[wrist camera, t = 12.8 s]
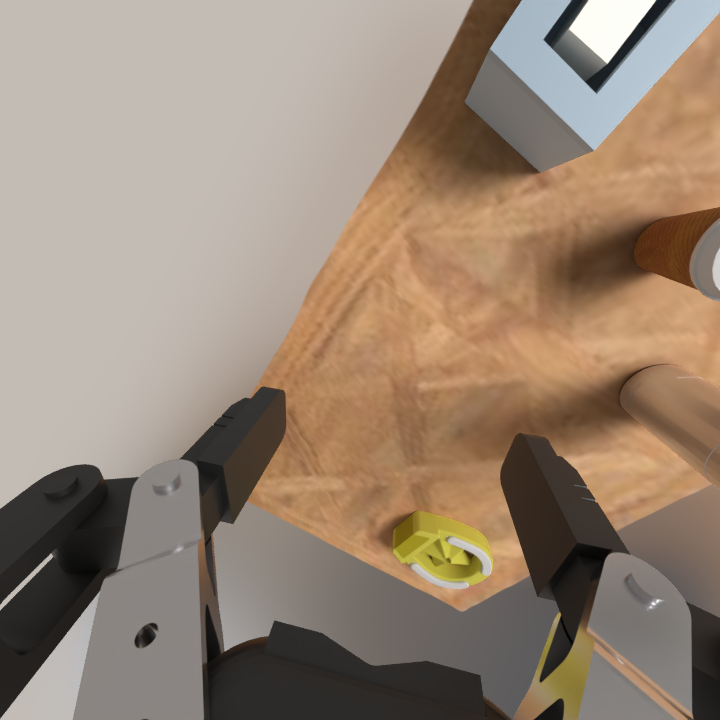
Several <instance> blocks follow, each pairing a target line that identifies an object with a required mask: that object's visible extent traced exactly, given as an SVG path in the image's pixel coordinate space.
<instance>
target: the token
mask: <svg viewBox="0 0 720 720" xmlns="http://www.w3.org/2000/svg"><path fill="white" fill-rule="evenodd" d="M655 1H656V0H582V1H581V2H580V3H579V5H578V6H577V7H576V8H575V10H574V11H573V12H572V14H571V15H570V16H569V17H568V19H567V20H566V22H565V23H564V25H563V26H562V28H561V29H560V31H559V32H558V34H557V35H556V36H555V38H554V39H553V41H552V42H551V44H550V45H549V46H550V47H551V48H552V49H553V50H554V51H555V52H556V53H557V54H558V55H559V56H560V57H561V58H562V59H563V60H564V61H565V62H566V63H567V64H568V65H569V66H570V67H571V68H572V70H573V71H574V72H575V73H576V74H577V75H578V76H579V77H580V78H581V79H582V80H583V81H584V82H586V81H587V80H588V79H589V78H591V77H592V76H593V75H594V74H595V73H597V72H598V71H599V70H600V69H602V68H603V67H604V66H605V65H607V64H608V62H609V61H610V60H611V59H612V57H613V56H614V55H615V53H616V52H617V51H618V49H619V48H620V47H621V45H622V44H623V43H624V42H625V40H626V39H627V38H628V36H629V35H630V34H631V32H632V31H633V30H634V29H635V27H636V26H637V25H638V23H639V22H640V21H641V19H642V18H643V17H644V16H645V14H646V13H647V12H648V10H649V9H650V8H651V6H652V5H653V4H654V3H655Z"/></svg>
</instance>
